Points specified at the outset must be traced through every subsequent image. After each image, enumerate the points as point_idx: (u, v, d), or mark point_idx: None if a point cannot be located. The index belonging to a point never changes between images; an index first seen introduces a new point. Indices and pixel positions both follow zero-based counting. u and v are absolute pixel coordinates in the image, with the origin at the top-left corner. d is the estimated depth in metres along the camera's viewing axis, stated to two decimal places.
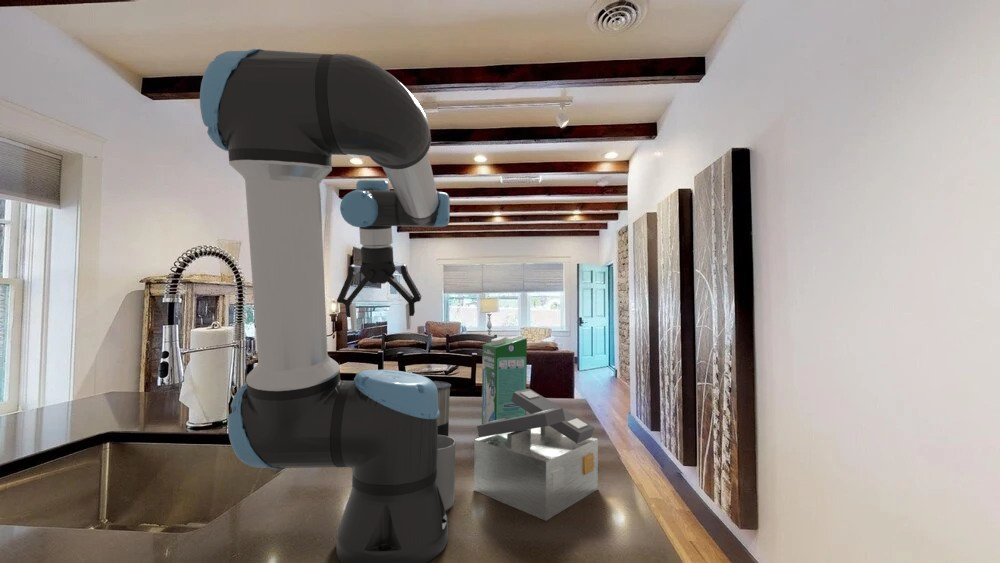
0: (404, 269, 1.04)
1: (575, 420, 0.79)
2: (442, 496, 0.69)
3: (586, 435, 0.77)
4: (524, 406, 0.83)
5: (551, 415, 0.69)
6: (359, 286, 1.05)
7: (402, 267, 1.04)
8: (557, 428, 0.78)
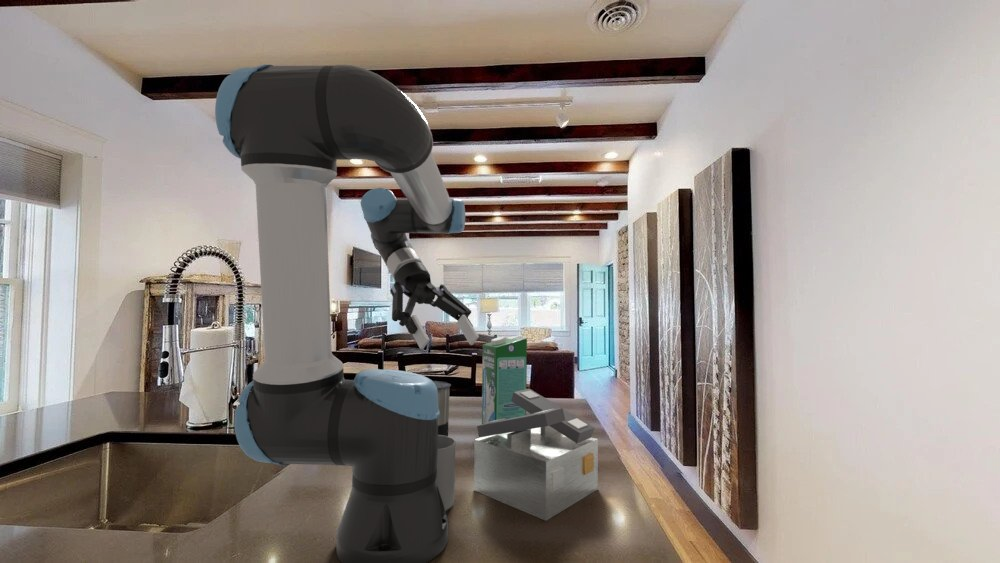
0: (444, 287, 1.00)
1: (575, 420, 0.79)
2: (442, 496, 0.69)
3: (586, 435, 0.77)
4: (524, 406, 0.83)
5: (551, 415, 0.69)
6: (413, 298, 0.90)
7: (442, 285, 1.00)
8: (557, 428, 0.78)
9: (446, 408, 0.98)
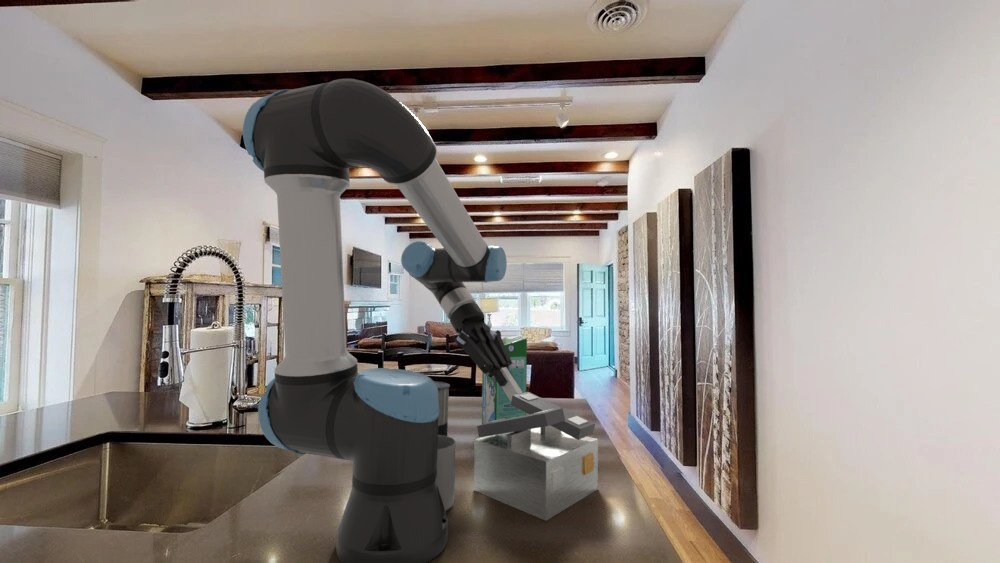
0: (499, 333, 0.99)
1: (575, 417, 0.79)
2: (442, 496, 0.69)
3: (587, 432, 0.77)
4: (524, 408, 0.83)
5: (551, 415, 0.69)
6: (484, 346, 0.92)
7: (498, 331, 1.00)
8: (558, 426, 0.78)
9: (445, 408, 0.98)
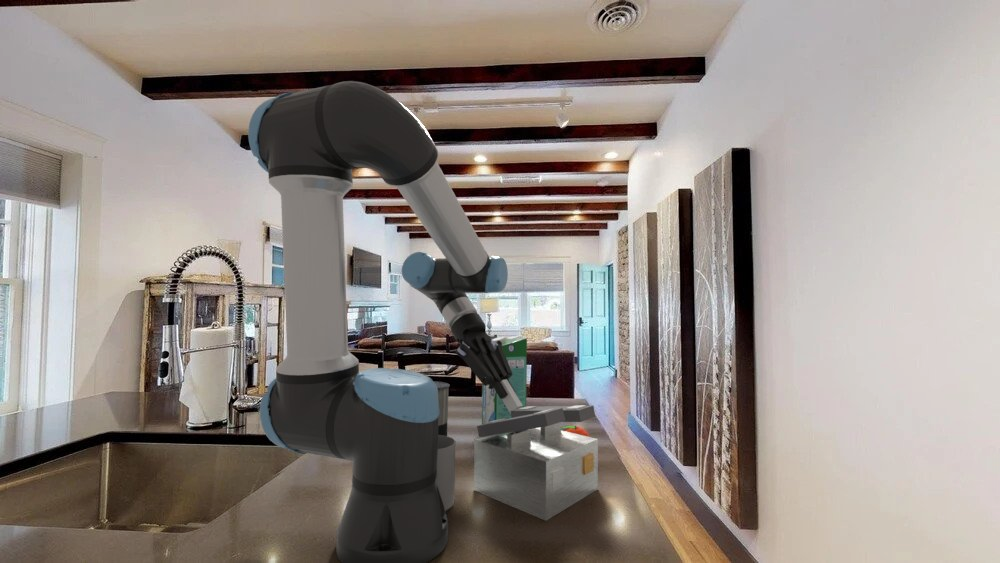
0: (500, 344, 0.99)
1: (573, 406, 0.79)
2: (442, 496, 0.69)
3: (588, 414, 0.77)
4: None
5: (551, 415, 0.69)
6: (485, 357, 0.92)
7: (499, 341, 0.99)
8: None
9: (445, 408, 0.98)
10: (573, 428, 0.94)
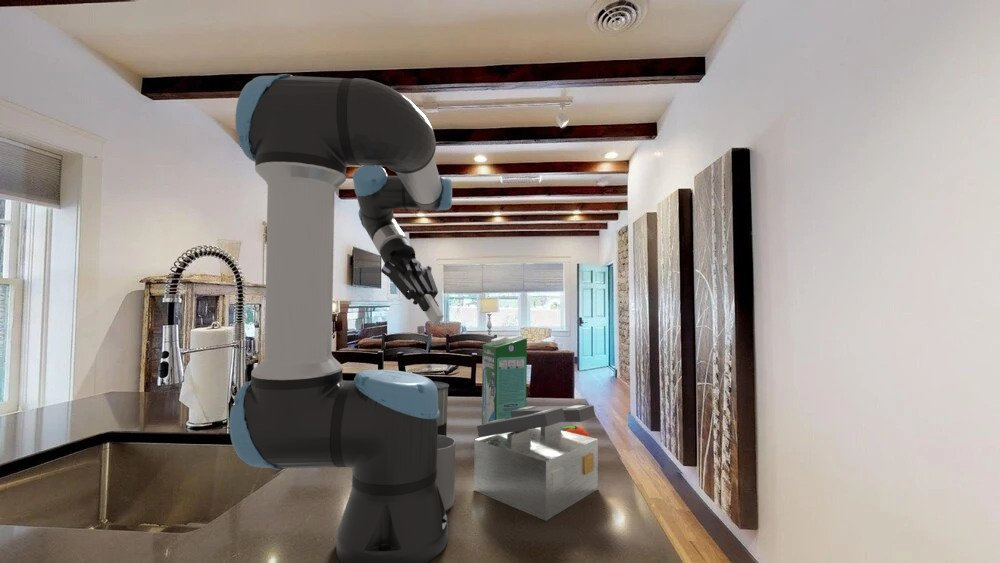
0: (430, 268, 1.02)
1: (573, 406, 0.79)
2: (442, 496, 0.69)
3: (588, 414, 0.77)
4: None
5: (551, 415, 0.69)
6: (410, 275, 0.95)
7: (429, 266, 1.02)
8: None
9: (444, 409, 0.98)
10: (573, 428, 0.94)
